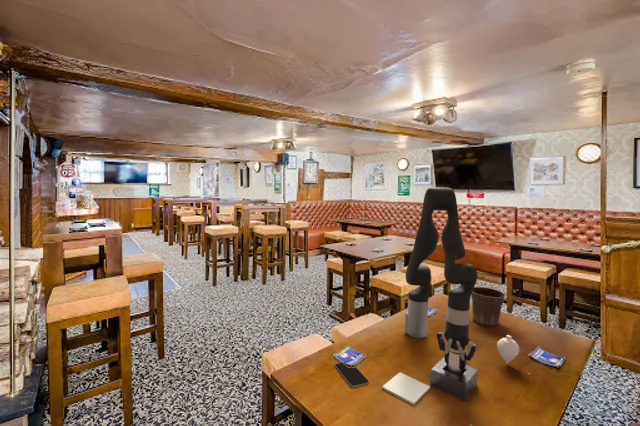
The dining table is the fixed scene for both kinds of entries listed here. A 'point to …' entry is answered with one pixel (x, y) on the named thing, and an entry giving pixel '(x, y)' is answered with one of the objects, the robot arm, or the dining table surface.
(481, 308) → the plant pot
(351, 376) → the smartphone
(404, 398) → the cream pad
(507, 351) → the spinning top
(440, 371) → the eye block
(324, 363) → the dining table surface
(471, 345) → the robot arm
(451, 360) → the steel peg
